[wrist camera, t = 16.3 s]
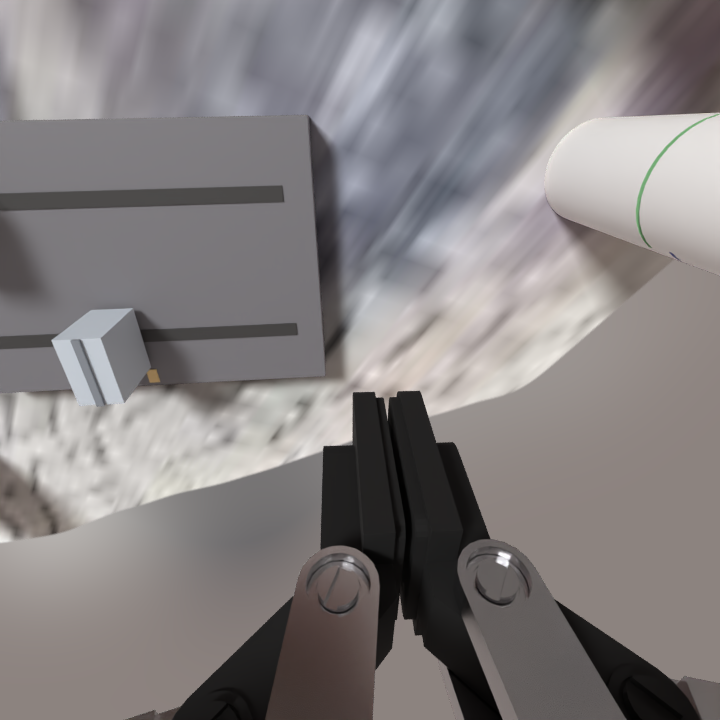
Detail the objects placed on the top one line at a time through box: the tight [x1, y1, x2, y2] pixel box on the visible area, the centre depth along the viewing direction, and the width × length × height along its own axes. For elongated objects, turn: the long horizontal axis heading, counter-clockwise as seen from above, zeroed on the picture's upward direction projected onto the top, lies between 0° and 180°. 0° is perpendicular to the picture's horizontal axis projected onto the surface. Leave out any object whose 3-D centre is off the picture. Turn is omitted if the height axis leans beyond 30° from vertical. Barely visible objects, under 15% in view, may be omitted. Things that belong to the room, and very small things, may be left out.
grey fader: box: [51, 308, 151, 406], centre depth 29 cm, size 5×3×5 cm, turn 1°
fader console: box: [0, 115, 326, 393], centre depth 31 cm, size 19×28×3 cm
